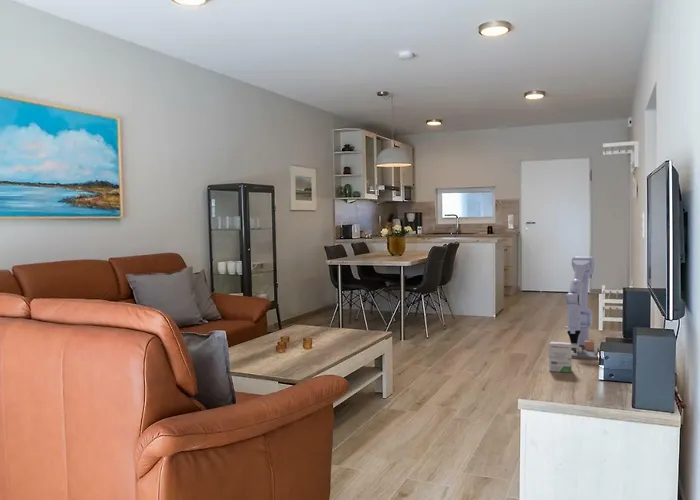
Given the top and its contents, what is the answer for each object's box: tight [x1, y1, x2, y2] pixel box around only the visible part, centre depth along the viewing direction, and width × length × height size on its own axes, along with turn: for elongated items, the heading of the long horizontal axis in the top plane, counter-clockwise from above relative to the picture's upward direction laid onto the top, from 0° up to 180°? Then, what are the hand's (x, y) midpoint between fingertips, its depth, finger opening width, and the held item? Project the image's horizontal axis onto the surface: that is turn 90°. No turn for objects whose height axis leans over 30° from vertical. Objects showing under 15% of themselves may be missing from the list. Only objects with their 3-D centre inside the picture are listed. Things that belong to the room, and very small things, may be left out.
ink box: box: [548, 341, 573, 374], centre depth 243 cm, size 8×5×12 cm, turn 65°
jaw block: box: [584, 339, 595, 350], centre depth 276 cm, size 4×4×5 cm
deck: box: [571, 346, 599, 360], centre depth 269 cm, size 14×14×4 cm
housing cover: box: [570, 342, 580, 353], centre depth 273 cm, size 6×5×3 cm
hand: (574, 346), depth 279 cm, fingers closed
